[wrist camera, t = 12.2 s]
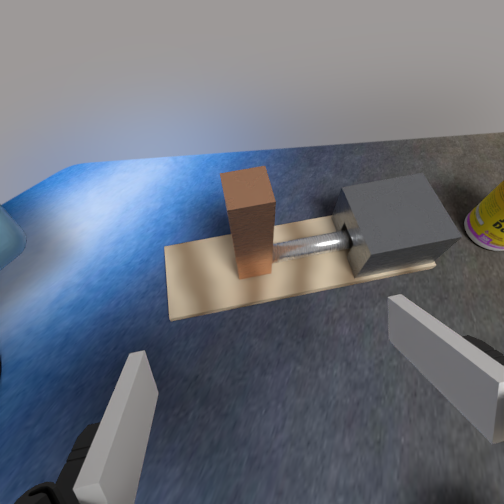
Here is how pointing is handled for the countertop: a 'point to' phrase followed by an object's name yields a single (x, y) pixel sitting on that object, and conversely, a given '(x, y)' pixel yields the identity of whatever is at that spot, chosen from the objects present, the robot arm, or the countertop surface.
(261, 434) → the countertop surface
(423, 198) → the bearing block
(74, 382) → the countertop surface
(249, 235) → the shaft
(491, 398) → the robot arm
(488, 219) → the supplement bottle
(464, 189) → the countertop surface
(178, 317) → the track base
